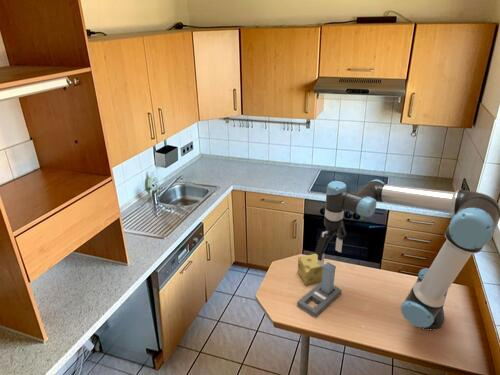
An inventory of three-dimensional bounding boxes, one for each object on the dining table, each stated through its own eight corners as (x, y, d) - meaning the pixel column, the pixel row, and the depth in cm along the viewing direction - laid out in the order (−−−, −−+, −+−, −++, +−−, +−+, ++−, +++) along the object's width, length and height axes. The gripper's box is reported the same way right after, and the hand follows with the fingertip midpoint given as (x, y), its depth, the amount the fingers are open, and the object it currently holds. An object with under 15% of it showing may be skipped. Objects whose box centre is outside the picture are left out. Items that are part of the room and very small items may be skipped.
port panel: (341, 293, 175) (341, 289, 174) (315, 317, 162) (315, 313, 161) (323, 283, 181) (323, 279, 180) (297, 305, 169) (297, 301, 168)
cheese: (304, 286, 180) (305, 269, 176) (296, 271, 189) (297, 255, 185) (324, 281, 183) (326, 265, 178) (315, 267, 192) (316, 252, 187)
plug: (333, 293, 175) (335, 266, 168) (327, 298, 173) (330, 270, 165) (325, 289, 178) (328, 262, 170) (320, 293, 175) (322, 266, 168)
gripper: (342, 202, 166) (338, 242, 176) (307, 225, 151) (305, 267, 161) (357, 208, 161) (352, 249, 171) (323, 232, 146) (319, 275, 156)
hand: (329, 257), depth 166 cm, fingers open, 13 cm apart
